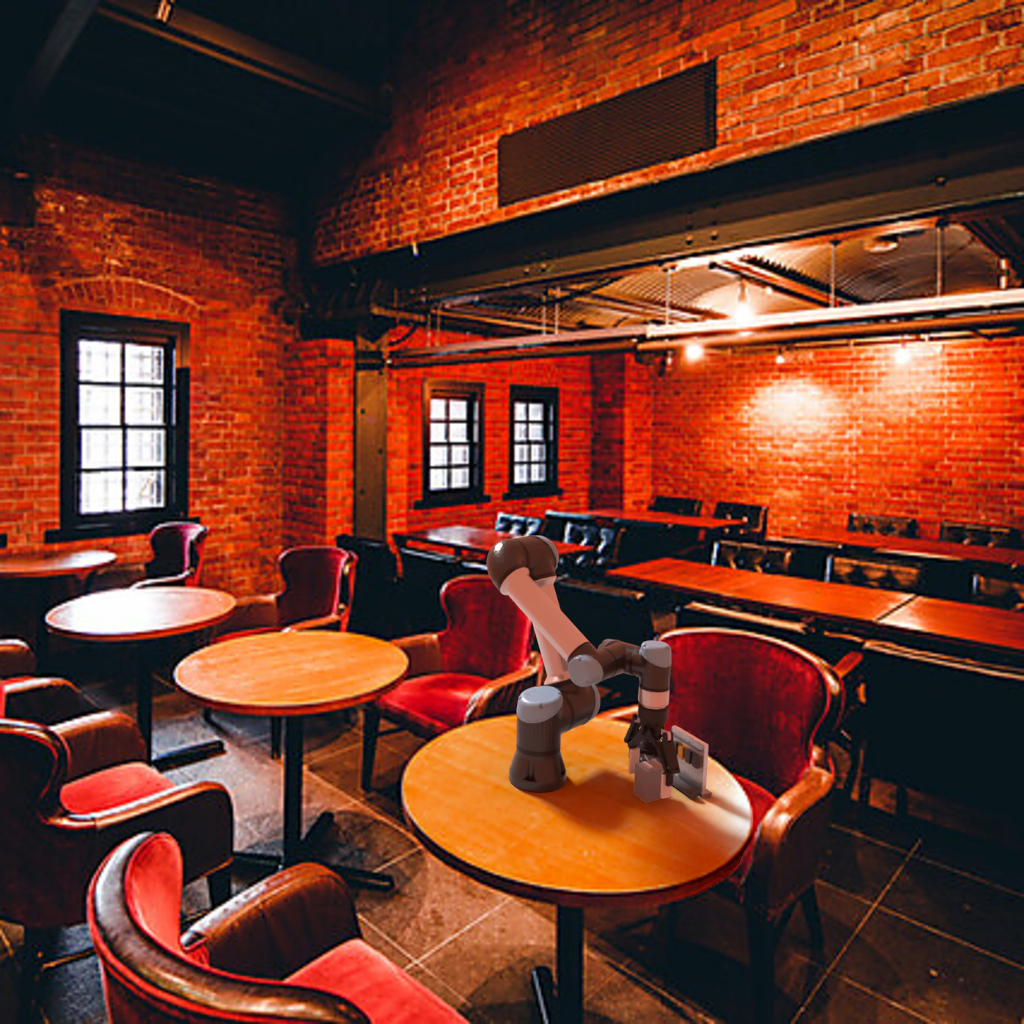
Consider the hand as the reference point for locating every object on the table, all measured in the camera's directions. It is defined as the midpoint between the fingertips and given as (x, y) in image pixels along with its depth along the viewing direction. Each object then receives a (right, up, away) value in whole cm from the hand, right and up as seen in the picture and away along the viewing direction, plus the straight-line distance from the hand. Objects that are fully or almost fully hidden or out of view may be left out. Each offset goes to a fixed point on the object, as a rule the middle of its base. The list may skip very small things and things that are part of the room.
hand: (649, 784), depth 185 cm
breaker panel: (+11, -3, +5) cm, 12 cm away
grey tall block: (0, -3, 0) cm, 3 cm away
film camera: (+3, -1, +21) cm, 21 cm away
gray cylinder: (+9, -3, +3) cm, 10 cm away
